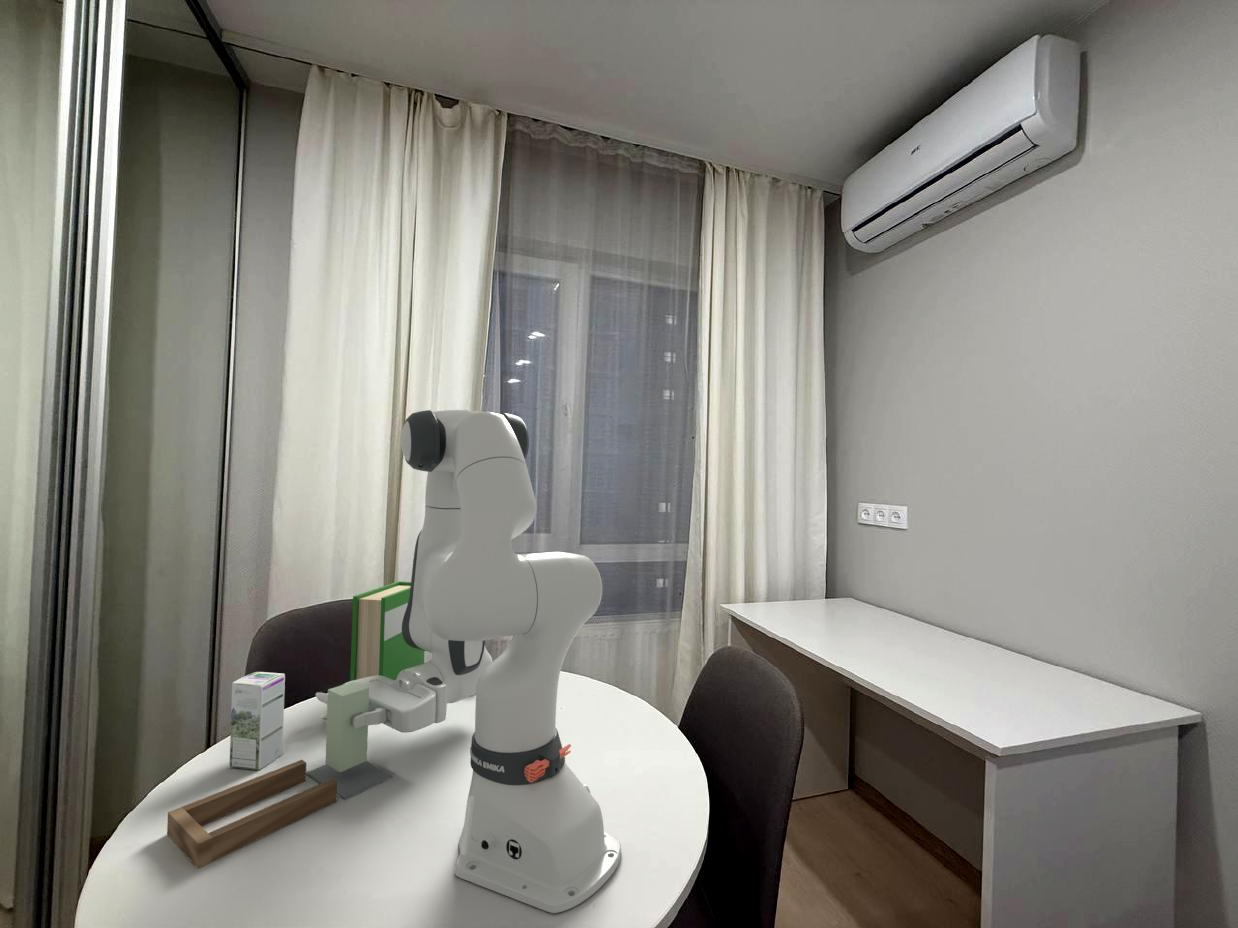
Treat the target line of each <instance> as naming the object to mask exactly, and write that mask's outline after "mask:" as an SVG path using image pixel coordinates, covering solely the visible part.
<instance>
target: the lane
mask: <svg viewBox="0 0 1238 928" xmlns="http://www.w3.org/2000/svg"><path fill="white" fill-rule="evenodd" d="M306 772H307V762H306V761H305V760H303V759H299V760H298V761H295V762H294V761H293V762H292V763H290V764H287V765H284V766H282V767H279V768H276V769H274V770H272V771H269V772H266V773H264V774H261V775H259V776H256V777H254V778H251V779H248V780H247V781H244V782H240V783H239V784H236V785H233V786H231V787H229V788H226V789H224V790H221V791H218V792H215V793H213V794H211V795H208V796H205V797H203V798H201V799H198V800H195V801H192V802H190V803H188V804H185V805H182V806H180V807H178V808H175V809H172V810H169V811H168V812H167V826H166V834H167V836H168V837H169V839H170V840H171V841H172V842H173V843H174V844H175V845H176V847H178V849H180V851H181V852H182V853H183V854H184V855H185V856H186V857H187V859H188V860H189V861H190V862H191V863H192V864H193V865H194V866H195V868H196V869H199V868H201V867H203V866H205V865H207V864H210V863H212V862H214V861H217V860H218V859H220V858H222V857H225V856H226V855H228V854H230V853H233V852H235V851H238V850H239V849H241V848H243V847H246V846H247V845H249V844H251V843H253V842H255V841H257V840H260V839H262V838H264V837H266V836H268V835H270V834H272V833H274V832H277V831H279V830H281V829H283V828H285V827H288V826H289V825H291V824H293V823H295V822H297V821H300V820H301V819H304V818H305V817H308V816H310V815H312V814H314V813H317V812H318V811H320V810H323V809H324V808H326V807H329V806H331V805H334V804H335V803H337V801H338V800H337V798H338V795H337V781H335V780H333V779H330V780H328V781H325V782H323V783H321V784H320V783H318V784H317V785H314V786H312V787H309V788H307V789H305V790H303V791H301V792H298V793H297V794H294V795H292V796H289V797H287V798H284V799H282V800H280V801H278V802H276V803H274V804H271V805H269V806H266V807H265V808H262V809H260V810H257V811H254V812H253V813H251V814H249V815H246V816H244V817H241V818H239V819H236V820H235V821H232V822H230V823H228V824H225V825H224V826H223V825H222V826H221V827H219V828H217V829H214V830H212V831H210V832H208V831H207V830H205V828H204V827H203V826H204V825H206V824H209V823H211V822H214V821H215V820H218V819H220V818H223V817H226V816H228V815H229V814H232V813H235V812H237V811H239V810H241V808H242V809H244V808H246V807H249V806H251V805H253V804H255V803H258V802H260V801H263V800H265V799H268V798H269V796H270V797H272V796H274V795H277V794H279V793H282V792H283V791H286V790H289V789H291V788H293V787H295V786H298V785H300V784H302V783H305V782H306V781H307V780H306V779H307V778H306V776H307V775H306ZM262 799H263V800H262ZM250 804H251V805H250ZM248 805H249V806H248ZM245 806H246V807H245ZM243 807H244V808H243ZM238 809H239V810H238ZM236 810H237V811H236ZM227 814H228V815H227Z"/></svg>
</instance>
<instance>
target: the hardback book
mask: <svg viewBox="0 0 1238 928" xmlns="http://www.w3.org/2000/svg"><path fill="white" fill-rule="evenodd" d="M410 587H411V581H396V582H392V583H389V584H387V585H383V586H380V587H378V588H375V589H372V590H369V591H368V590H367V591H365V592H362V593H360V594H357V595H354V596H352V620H351V624H352V625H351V643H350V644H351V646H350V649H351V651H350V652H351V653H350V674H349V675H350V676H349V677H350V678H349V682H350V681H353V680H357V679H361V678H366V677H370V676H384V677H387V678H390V679H392V680H396V679H397V676H398V674H399V673H400V672H401V671H402V670H404V669H407V668H411V667H414V666H417V665H420V664H423V663H425V652H426V651H423V650H420V649H416V648H413V647H411V646H409V645H408V644H407V643H406V642H405V640H404V638H403V635H402V621H403V617H404V614H405V611H406V608H407V605H408V601H409V596H410Z"/></svg>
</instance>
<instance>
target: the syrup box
mask: <svg viewBox="0 0 1238 928" xmlns="http://www.w3.org/2000/svg"><path fill="white" fill-rule="evenodd" d="M285 682H286V674H285V673H282V672H281V673H278V672H267V671H266V672H265V671H255V672H252V673H249V674H247V675H245V676H242V677H240V678H239V679H237V680H234V681H233V682H231V683H232V684H231V707H230V709H231V710H230V711H231V714H230V743H229V768H234V769H242V770H243V769H244V770H253V771H254V770H255V771H260V770H262V769H263V768H264V767H266V766H268V765H269V764H271V763H273V762H274V761H275V760H277V759H279V758H280V757H281V756H283V754H284V751H283V750H284V719H285V718H284V715H285V714H284V713H285V710H284V709H285V689H286V686H285Z"/></svg>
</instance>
